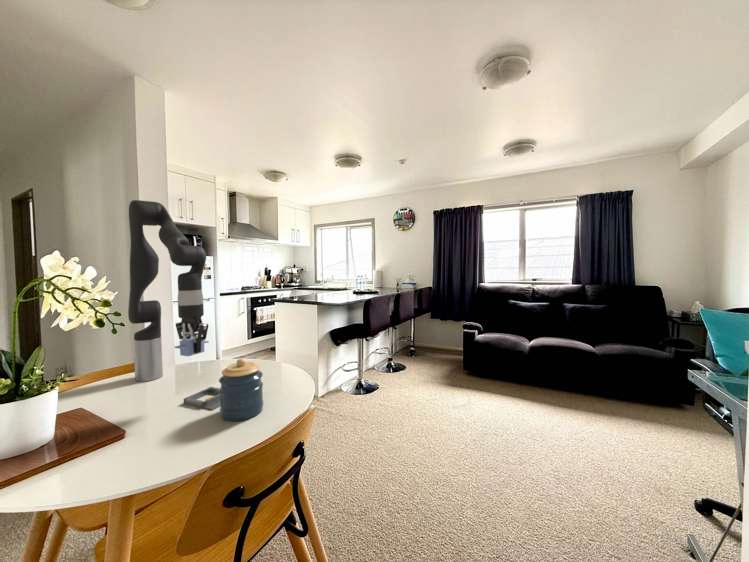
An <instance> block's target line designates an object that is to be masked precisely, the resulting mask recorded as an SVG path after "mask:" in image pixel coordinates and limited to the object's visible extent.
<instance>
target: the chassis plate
mask: <svg viewBox="0 0 749 562" xmlns="http://www.w3.org/2000/svg"><path fill="white" fill-rule="evenodd" d="M220 388H221V387H219V388H218V387H215V386H210V387H207V388H205V389H203V390H200V391H198V392H196V393H193V394H191V395H189V396H186V397H185V398H183V405H187V406H192V407H197V408H200V409H206V410H210V411H214V410H216V409H218V408H220V407H221V406H220V392H219V390H220ZM214 393H215V395H214V396H212V397H211V396H209V397H208V398H206V399H204V401H203V400H201V399H200V398H203V397H205V396H207V395H209V394H214ZM199 399H200V400H199Z"/></svg>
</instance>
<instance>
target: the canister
mask: <svg viewBox="0 0 749 562" xmlns="http://www.w3.org/2000/svg"><path fill="white" fill-rule="evenodd" d="M260 368H261V367H260V365H258V364H257V363H254V362H252V361H246V360H245V359H244V358H238V359H237V360H236V362H235V363H232V364H230V365H228V366H227V367H226V368H224V369H223V370H222V371H221V374H222V375H221V377H219V379H218V382H219V383H220V387H219V388H220V390H219V392H220V407H219V414H220V416H221V418H222V419H223V420H225V421H229V422H241V421H245V420H248V419H251V418H254V417H256V416H257V415H259V414H260V413H261V412H262V411H263V409H264V408H263V407H264V399H263V398H264V397H263V385H264V383H263V381H262V377H263V372H262V371H260Z"/></svg>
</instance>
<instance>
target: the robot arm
mask: <svg viewBox="0 0 749 562" xmlns="http://www.w3.org/2000/svg"><path fill="white" fill-rule="evenodd" d="M128 222H129V224H128V225H129V235H130V249H129V250H130V252H129V253H130V254H129V285H130V286H129V288H130V290H129V298H128V299H129V300H128V311H127V314H128V315H127V316H128V321H129V322H130V323H131V324H133V325H134V324H135V325H138V324H145V323H147V324H148V323H150V324H149V325H148V326H147V327H145V328H142V329H141V330H139V331H136V332H135V333H134V335H133V339H134V340H133V342H134V357H133V359H134V360H133V362H134V378H135V380H136V381H137V382H140V383H141V382H149V381H153V380H158V379H160V378H162V377H163V376H164V374H163V373H164V372H163V371H164V368H163V350H162V349H163V347H162V306H161V303H160V302H159V300H155V299H154V300H152V299H151V300H142V299H141V298H142V296H143V294H144V293H145V291H146V290H147V288H148V287H149V286H150V285H151V284H152V283H153V282H154V280H155V279H156V278H157V276H158V274H159V267H160V265H159V263H160V261H159V260H160V259H159V256H158V254H157V252H156V251H155V250H154V248H153V247H152V246H151V244H150V243H149V241H148V240H147V238H146V237H145V233H144V229H143V228H144V226H149V227H150V226H152V227H153V226H155V227H156V226H157V227H158V226H159V227H160V228H159V230H158V238H159V240H160V241H161V243H162V244H163V245H164V247H165V248H166V249H167V251H168V254H169V258H170V261H171V263H172V264H174V265H176V266H179V267H190V269H189V271H187V272H183V273H179V275H178V276H177V290H178V291H177V313H178V314H177V316H178V318H179V319H181V321H180V322H176V323H175V328H176V331H177V335H178V339H179V340H185V339H190V338H193V341H194V343H193V345H194V353H198V354H201V353H200V352H201V341H203V340H204V341H206V340H207V335H208V329H209V324H208V323H204V322H203V319H202V317H203V316H204V314H205V313H204V312H205V309H204V294H203V286H202V285H203V283H202V282H203V281H202V277H203V273H204V268H205V265H206V261H207V253H206V251H205V249H204V248H203V247H201V246H199V245H190V241H189V239H188V238H187V237H186V236H185V235H184V234H183V232H181V231H180V230H179V228H178V227H177V225H176V224H175V223H174V220H173V218H172V217H171V215H170V214H169V212H168V210H167V209H166V207H165V205H163V204H162V203H160V202H158V201H151V200H139V199H133V200H131V201H130V202H129V205H128ZM196 335H198V337H197V338H196Z"/></svg>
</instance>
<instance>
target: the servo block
mask: <svg viewBox="0 0 749 562" xmlns="http://www.w3.org/2000/svg"><path fill="white" fill-rule="evenodd" d="M197 337H198V335H196V338H197ZM193 343H194V341H193V337H192V338H190V339H185V340H182V339H180V340H179V345H176V346H174V349H179V354H180V356H184V357H191V356H194V355H198V354H201V353H205V344H208V343H209V340H203V341H201V352H200V353H194V345H193Z"/></svg>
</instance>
